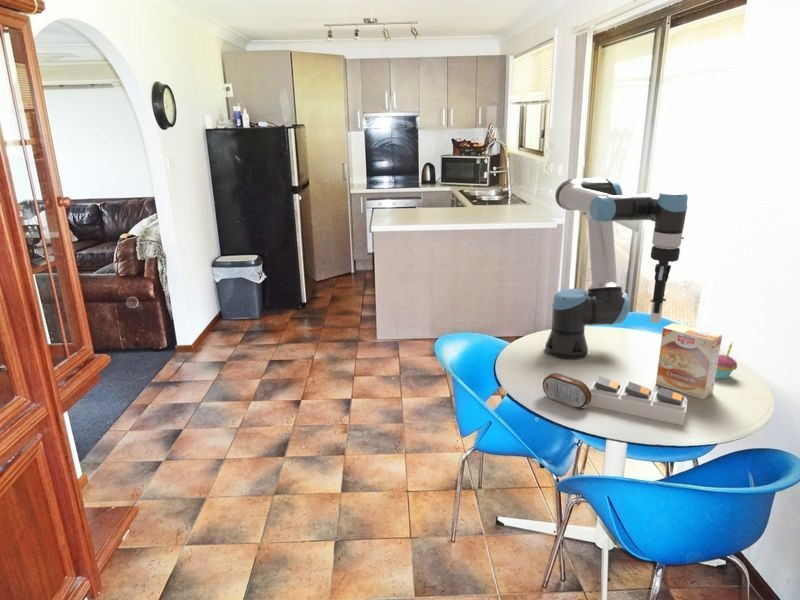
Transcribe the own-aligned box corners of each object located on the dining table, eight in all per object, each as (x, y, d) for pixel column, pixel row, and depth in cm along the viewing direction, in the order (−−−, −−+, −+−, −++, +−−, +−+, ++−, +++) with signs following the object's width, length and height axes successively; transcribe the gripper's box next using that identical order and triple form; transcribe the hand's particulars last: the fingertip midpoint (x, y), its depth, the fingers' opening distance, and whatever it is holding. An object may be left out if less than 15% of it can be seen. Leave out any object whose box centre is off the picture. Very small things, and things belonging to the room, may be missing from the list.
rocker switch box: (578, 403, 166) (579, 388, 165) (584, 391, 173) (586, 376, 172) (683, 425, 152) (686, 409, 151) (685, 411, 160) (688, 396, 159)
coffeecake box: (654, 384, 178) (662, 327, 172) (665, 378, 182) (672, 322, 177) (703, 400, 167) (713, 339, 161) (713, 393, 171) (722, 334, 166)
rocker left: (594, 386, 164) (596, 381, 164) (597, 380, 168) (599, 375, 168) (615, 394, 162) (616, 389, 161) (617, 387, 166) (619, 383, 165)
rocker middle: (625, 392, 160) (626, 387, 160) (627, 386, 164) (629, 381, 164) (646, 400, 158) (648, 395, 157) (648, 394, 162) (650, 388, 161)
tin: (590, 409, 162) (593, 383, 160) (585, 413, 160) (587, 387, 158) (545, 393, 172) (547, 369, 170) (540, 397, 170) (541, 372, 168)
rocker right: (656, 399, 156) (658, 394, 156) (658, 392, 160) (660, 387, 160) (679, 407, 154) (681, 401, 153) (680, 399, 158) (682, 394, 157)
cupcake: (726, 370, 187) (732, 337, 184) (740, 381, 179) (746, 347, 175) (700, 370, 187) (705, 337, 184) (713, 381, 179) (719, 346, 176)
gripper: (678, 252, 153) (666, 331, 161) (682, 242, 164) (670, 317, 171) (649, 249, 157) (638, 326, 164) (654, 240, 167) (644, 313, 175)
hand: (655, 321), depth 168 cm, fingers closed
